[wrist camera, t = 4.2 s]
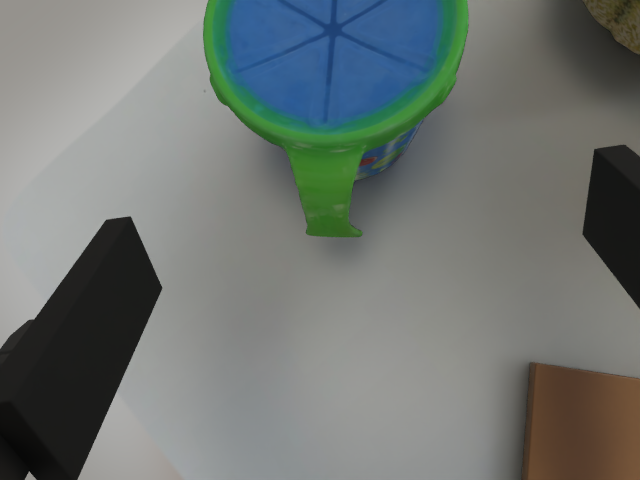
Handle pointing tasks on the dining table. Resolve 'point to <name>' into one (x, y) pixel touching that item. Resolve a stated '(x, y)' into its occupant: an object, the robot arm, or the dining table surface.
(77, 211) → the dining table surface
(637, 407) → the wooden board
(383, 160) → the snack cup
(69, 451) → the robot arm
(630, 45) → the cantaloupe
